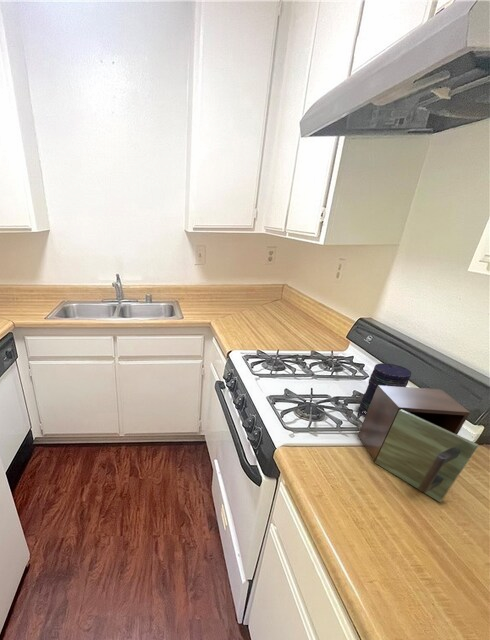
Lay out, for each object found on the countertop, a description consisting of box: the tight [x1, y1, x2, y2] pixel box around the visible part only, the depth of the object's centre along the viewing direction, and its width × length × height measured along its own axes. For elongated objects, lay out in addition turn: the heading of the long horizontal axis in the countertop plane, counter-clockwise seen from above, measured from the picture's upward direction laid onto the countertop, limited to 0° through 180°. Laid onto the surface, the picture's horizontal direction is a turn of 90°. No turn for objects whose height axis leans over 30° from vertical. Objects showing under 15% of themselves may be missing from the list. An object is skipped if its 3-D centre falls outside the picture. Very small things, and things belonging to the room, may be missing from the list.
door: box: [374, 409, 479, 503], centre depth 77 cm, size 7×16×16 cm, turn 29°
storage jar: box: [357, 362, 413, 418], centre depth 106 cm, size 10×10×15 cm
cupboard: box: [357, 385, 471, 462], centre depth 89 cm, size 12×16×16 cm
